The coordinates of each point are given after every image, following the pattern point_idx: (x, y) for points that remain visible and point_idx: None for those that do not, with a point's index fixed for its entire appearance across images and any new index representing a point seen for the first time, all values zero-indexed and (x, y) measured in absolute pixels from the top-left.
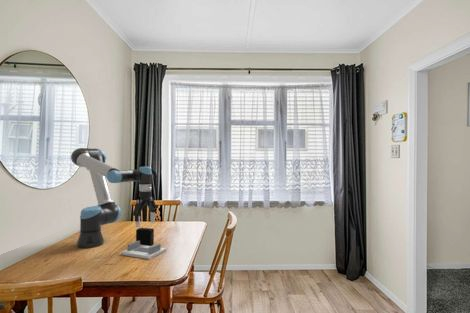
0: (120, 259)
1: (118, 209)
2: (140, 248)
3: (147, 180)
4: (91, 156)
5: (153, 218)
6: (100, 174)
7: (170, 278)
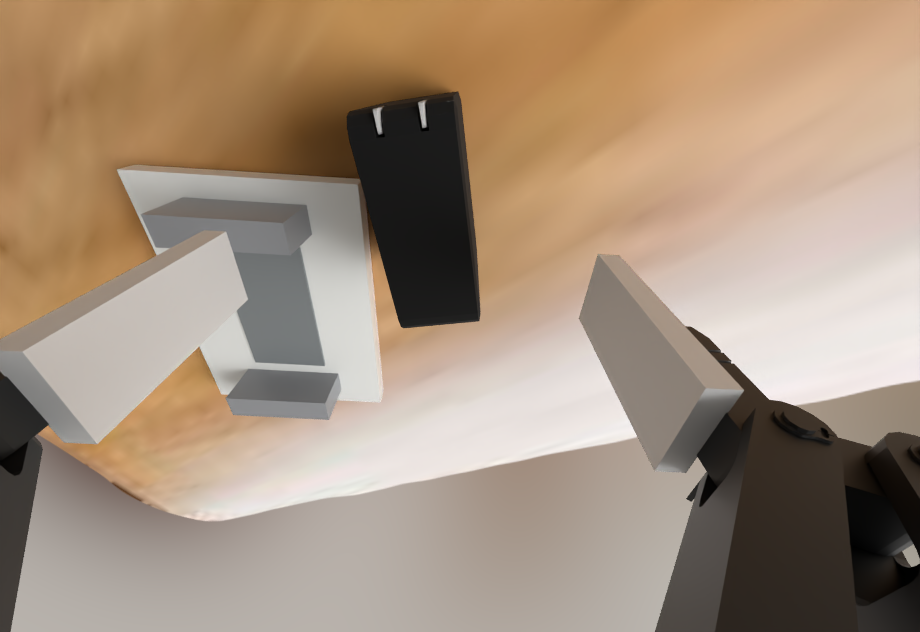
0: (88, 241)
1: None
2: (277, 272)
3: None
4: None
5: (602, 356)
6: None
7: (169, 506)
